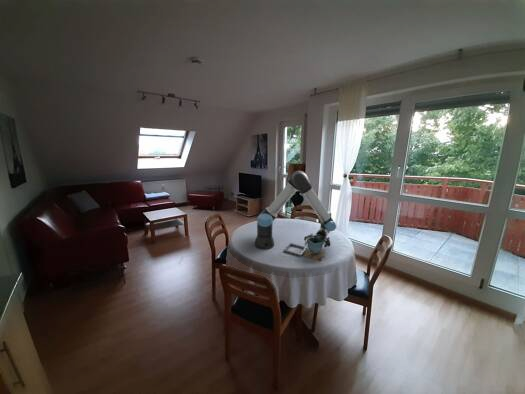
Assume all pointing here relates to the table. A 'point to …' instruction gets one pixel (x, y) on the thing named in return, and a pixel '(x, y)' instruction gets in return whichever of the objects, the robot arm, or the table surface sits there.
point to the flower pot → (315, 244)
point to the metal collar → (295, 252)
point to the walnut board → (314, 255)
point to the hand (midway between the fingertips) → (313, 245)
